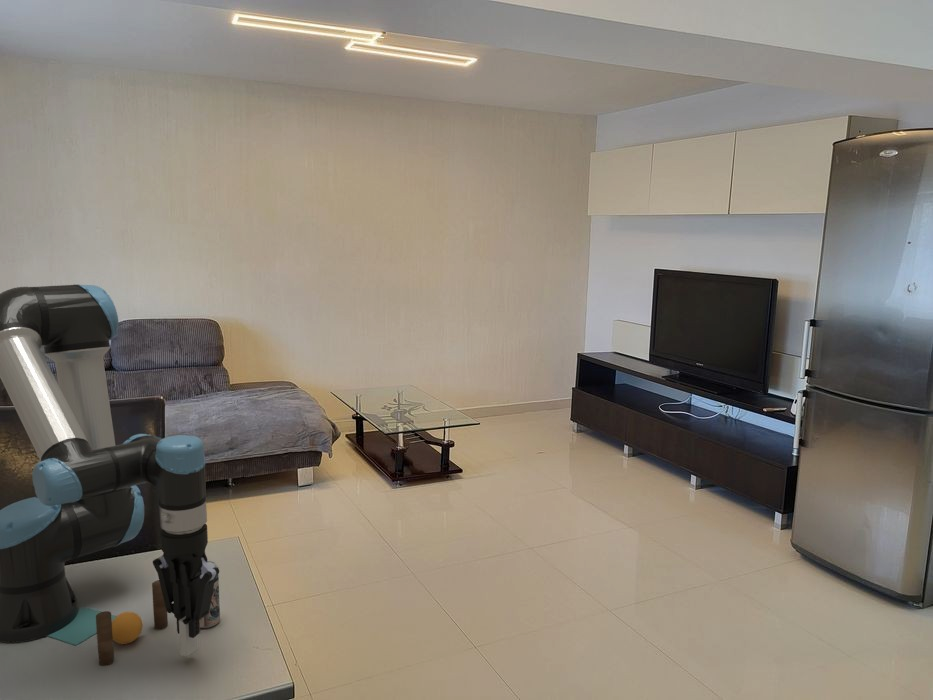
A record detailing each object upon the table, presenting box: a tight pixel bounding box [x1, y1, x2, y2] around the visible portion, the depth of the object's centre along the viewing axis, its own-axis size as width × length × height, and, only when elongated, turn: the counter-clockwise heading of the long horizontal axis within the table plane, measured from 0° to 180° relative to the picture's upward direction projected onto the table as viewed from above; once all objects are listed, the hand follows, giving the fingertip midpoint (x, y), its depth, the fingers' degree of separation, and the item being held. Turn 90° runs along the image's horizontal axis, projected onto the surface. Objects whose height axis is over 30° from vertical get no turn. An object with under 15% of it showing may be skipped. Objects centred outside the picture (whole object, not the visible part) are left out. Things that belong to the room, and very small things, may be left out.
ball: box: [112, 611, 143, 645], centre depth 129 cm, size 6×6×6 cm
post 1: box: [96, 610, 115, 667], centre depth 122 cm, size 2×2×9 cm
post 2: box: [151, 579, 169, 631], centre depth 134 cm, size 2×2×9 cm
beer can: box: [199, 560, 221, 629], centre depth 135 cm, size 5×5×12 cm
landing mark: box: [46, 606, 118, 647], centre depth 134 cm, size 10×10×1 cm
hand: (189, 651), depth 124 cm, fingers closed
